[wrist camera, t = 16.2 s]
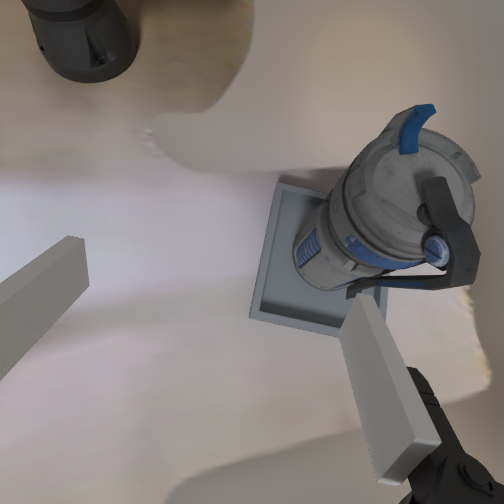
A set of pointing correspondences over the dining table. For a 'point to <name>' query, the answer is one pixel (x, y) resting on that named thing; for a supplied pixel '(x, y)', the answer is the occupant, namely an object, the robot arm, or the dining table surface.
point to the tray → (287, 279)
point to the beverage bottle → (395, 214)
